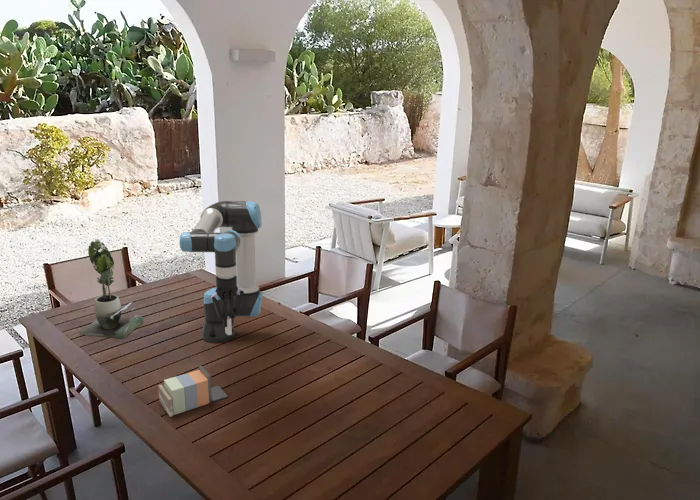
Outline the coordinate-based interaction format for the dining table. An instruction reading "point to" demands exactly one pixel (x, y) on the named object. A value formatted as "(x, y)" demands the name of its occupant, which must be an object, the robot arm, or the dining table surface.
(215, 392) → the bookend
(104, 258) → the potted plant
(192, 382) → the book slate
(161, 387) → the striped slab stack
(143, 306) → the dining table surface
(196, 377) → the book rust
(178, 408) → the book sage
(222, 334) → the robot arm
